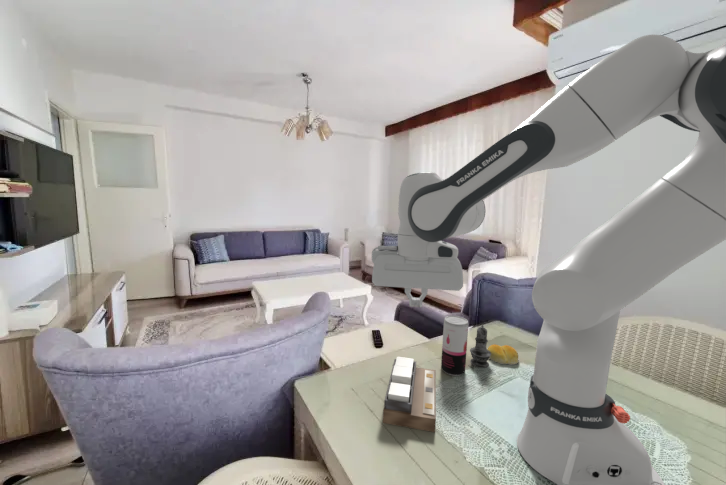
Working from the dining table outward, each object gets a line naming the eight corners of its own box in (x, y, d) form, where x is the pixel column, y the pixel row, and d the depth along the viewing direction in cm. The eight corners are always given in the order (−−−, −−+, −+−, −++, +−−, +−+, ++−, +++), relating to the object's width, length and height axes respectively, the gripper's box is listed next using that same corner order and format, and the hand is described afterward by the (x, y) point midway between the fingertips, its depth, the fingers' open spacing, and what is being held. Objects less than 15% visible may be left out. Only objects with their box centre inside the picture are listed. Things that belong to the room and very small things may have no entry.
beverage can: (470, 373, 87) (473, 322, 84) (451, 378, 84) (454, 326, 82) (454, 362, 93) (457, 314, 90) (436, 366, 90) (439, 317, 88)
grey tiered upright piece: (486, 358, 95) (489, 321, 93) (492, 369, 89) (496, 329, 87) (467, 357, 95) (469, 320, 94) (471, 367, 90) (474, 328, 88)
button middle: (411, 377, 77) (412, 367, 76) (410, 387, 72) (410, 377, 72) (394, 374, 78) (394, 365, 77) (391, 384, 73) (392, 374, 73)
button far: (413, 367, 83) (413, 358, 82) (412, 376, 78) (412, 367, 78) (396, 365, 84) (397, 356, 83) (394, 374, 79) (395, 365, 79)
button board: (434, 380, 83) (435, 363, 82) (435, 432, 65) (436, 410, 64) (393, 374, 85) (394, 357, 85) (382, 422, 67) (383, 401, 66)
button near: (409, 395, 71) (410, 385, 71) (408, 407, 67) (408, 397, 66) (390, 392, 72) (391, 382, 72) (387, 404, 68) (388, 393, 67)
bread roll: (484, 350, 100) (485, 338, 100) (513, 354, 99) (515, 342, 98) (488, 363, 92) (490, 351, 92) (521, 367, 91) (522, 355, 90)
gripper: (369, 247, 69) (368, 307, 70) (466, 250, 65) (462, 314, 66) (374, 243, 75) (373, 298, 77) (462, 246, 71) (459, 304, 73)
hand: (415, 306), depth 71 cm, fingers closed
